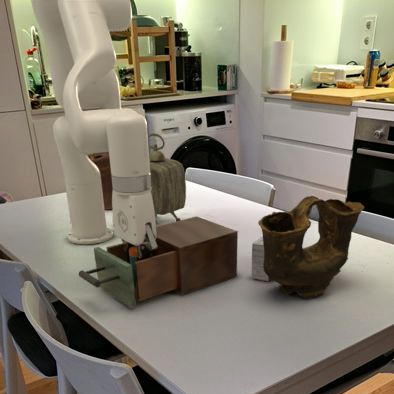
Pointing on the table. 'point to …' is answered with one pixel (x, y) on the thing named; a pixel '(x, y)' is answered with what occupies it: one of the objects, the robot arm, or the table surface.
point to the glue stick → (133, 259)
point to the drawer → (144, 272)
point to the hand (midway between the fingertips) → (139, 270)
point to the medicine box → (258, 261)
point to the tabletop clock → (166, 182)
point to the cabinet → (200, 252)
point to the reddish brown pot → (104, 176)
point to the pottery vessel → (313, 255)
